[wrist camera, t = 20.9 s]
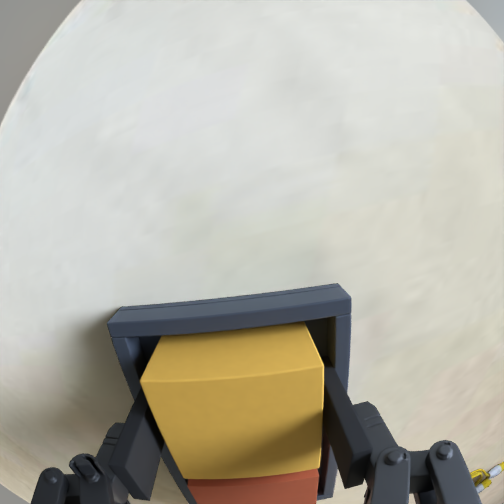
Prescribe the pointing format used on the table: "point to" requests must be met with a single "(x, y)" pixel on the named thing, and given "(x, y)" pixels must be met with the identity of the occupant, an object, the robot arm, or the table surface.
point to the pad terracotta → (258, 489)
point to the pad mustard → (238, 401)
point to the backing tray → (232, 318)
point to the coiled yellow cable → (489, 475)
